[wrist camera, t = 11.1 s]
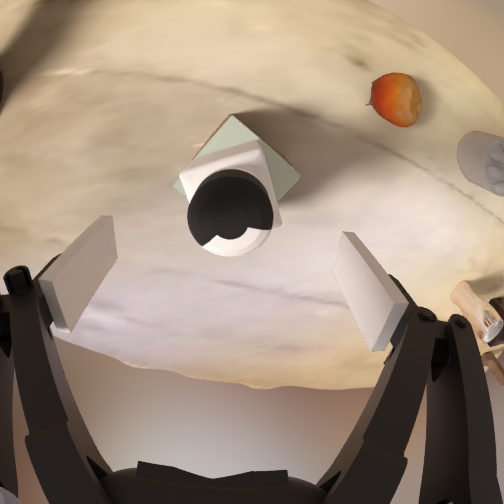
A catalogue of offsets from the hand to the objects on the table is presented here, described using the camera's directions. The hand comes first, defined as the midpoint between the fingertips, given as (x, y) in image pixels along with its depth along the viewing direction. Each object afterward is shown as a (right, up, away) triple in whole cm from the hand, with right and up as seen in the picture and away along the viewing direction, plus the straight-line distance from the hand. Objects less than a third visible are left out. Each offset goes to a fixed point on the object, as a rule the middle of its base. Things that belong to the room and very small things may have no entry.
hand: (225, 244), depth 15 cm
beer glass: (+50, -10, +37) cm, 63 cm away
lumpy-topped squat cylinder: (+44, +18, +22) cm, 52 cm away
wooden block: (+88, -38, +54) cm, 110 cm away
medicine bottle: (-1, +7, +14) cm, 16 cm away
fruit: (+21, +22, +18) cm, 36 cm away
